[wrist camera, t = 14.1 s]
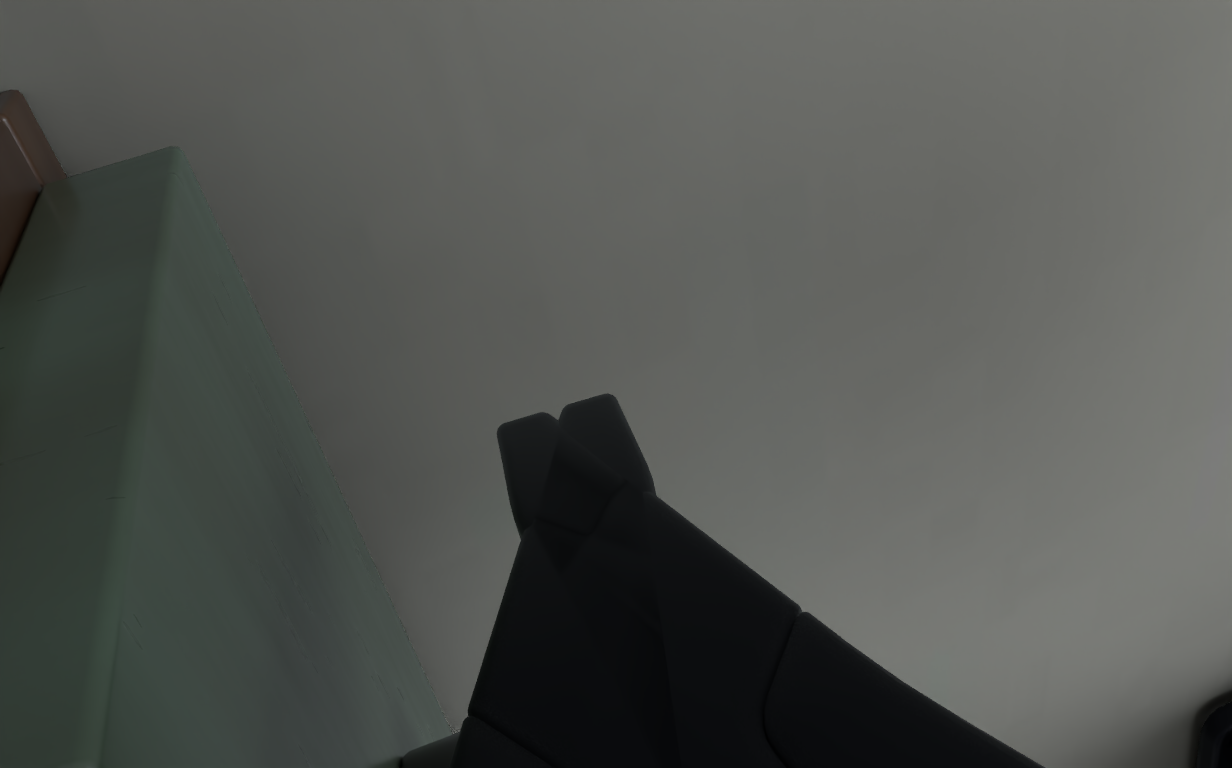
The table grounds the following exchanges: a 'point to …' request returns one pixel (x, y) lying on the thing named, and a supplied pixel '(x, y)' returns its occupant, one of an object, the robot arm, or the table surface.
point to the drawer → (176, 513)
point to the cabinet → (20, 171)
